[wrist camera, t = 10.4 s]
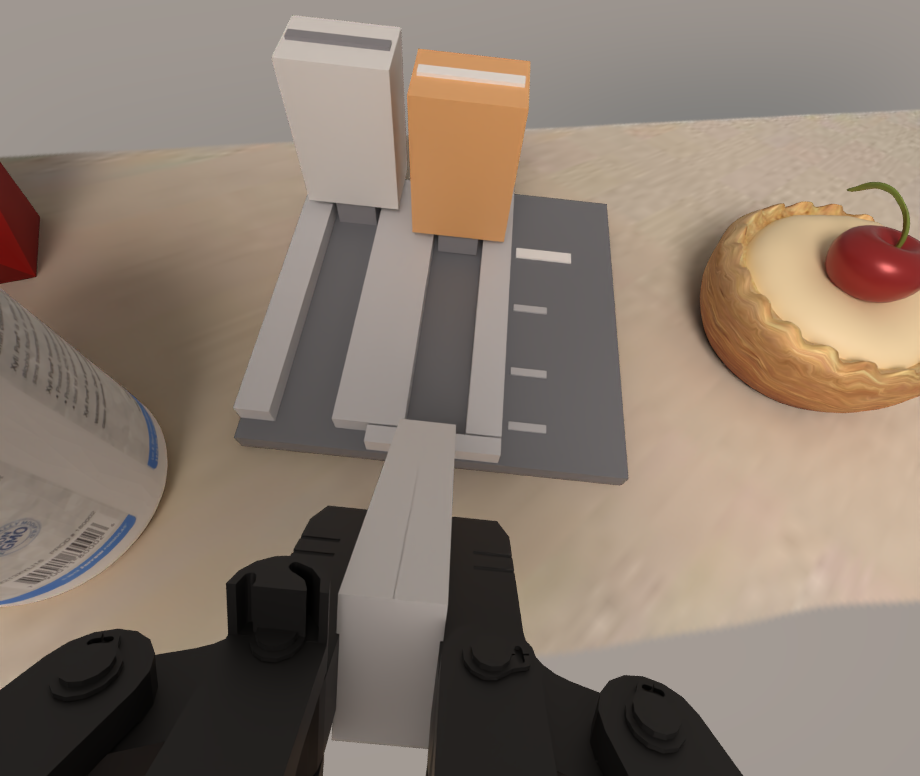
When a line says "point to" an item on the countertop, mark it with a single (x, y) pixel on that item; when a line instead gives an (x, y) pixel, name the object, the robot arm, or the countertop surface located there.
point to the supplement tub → (67, 463)
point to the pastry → (817, 306)
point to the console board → (425, 296)
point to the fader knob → (465, 145)
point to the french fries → (16, 232)
